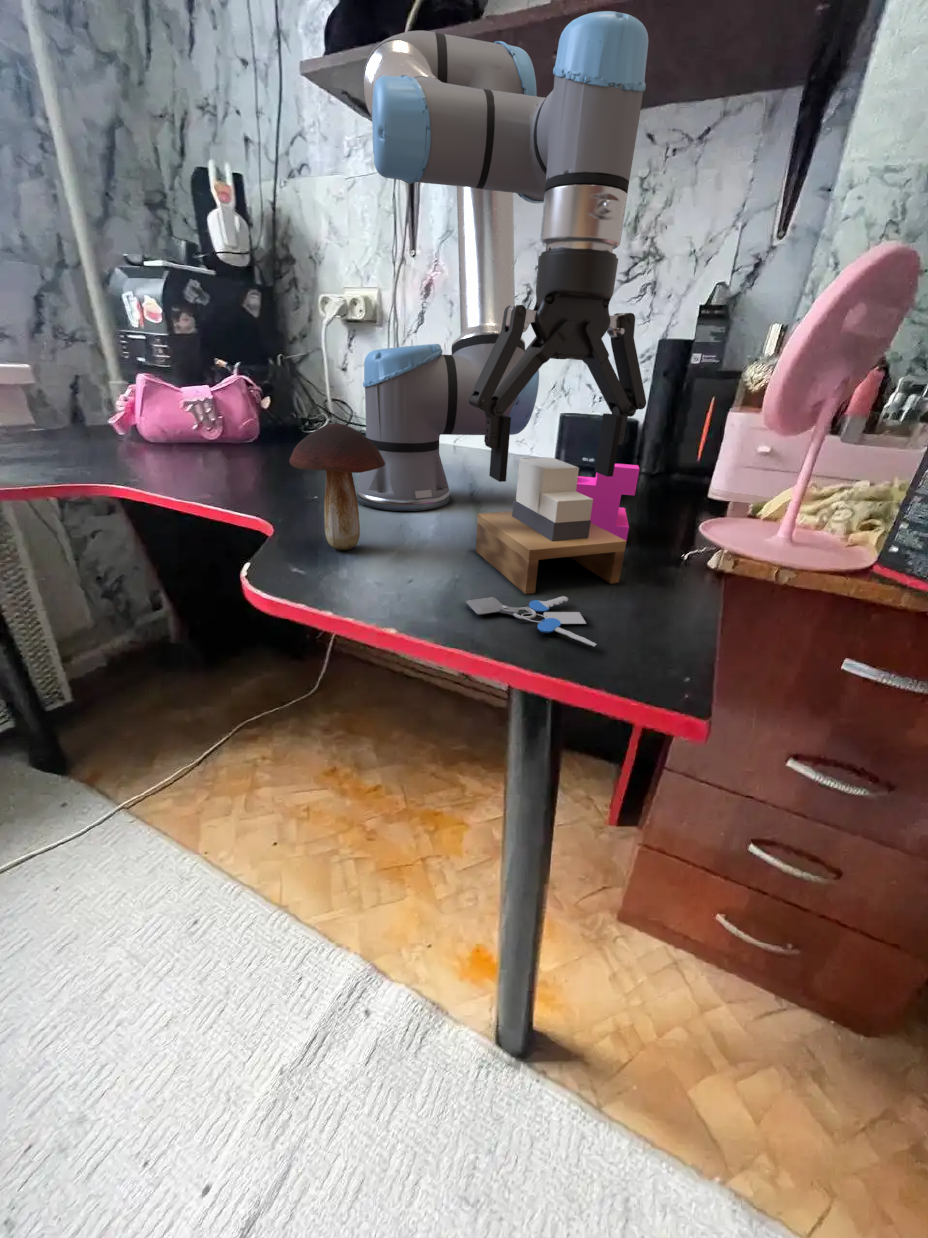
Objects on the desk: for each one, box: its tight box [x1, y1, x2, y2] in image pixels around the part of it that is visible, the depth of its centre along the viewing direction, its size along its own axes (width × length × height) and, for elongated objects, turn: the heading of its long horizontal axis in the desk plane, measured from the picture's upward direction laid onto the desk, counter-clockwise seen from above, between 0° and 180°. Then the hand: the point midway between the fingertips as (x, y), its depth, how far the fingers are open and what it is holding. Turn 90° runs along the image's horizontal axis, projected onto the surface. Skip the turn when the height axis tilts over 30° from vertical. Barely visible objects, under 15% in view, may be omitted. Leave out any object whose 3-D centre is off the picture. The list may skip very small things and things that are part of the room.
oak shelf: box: [475, 510, 627, 595], centre depth 65 cm, size 14×12×5 cm
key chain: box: [465, 595, 597, 648], centre depth 53 cm, size 14×8×1 cm, turn 60°
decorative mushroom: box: [288, 422, 385, 551], centre depth 65 cm, size 11×11×15 cm
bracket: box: [576, 462, 640, 542], centre depth 78 cm, size 12×10×10 cm
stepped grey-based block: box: [511, 457, 593, 541], centre depth 62 cm, size 10×5×7 cm, turn 21°
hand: (552, 476), depth 62 cm, fingers open, 13 cm apart
